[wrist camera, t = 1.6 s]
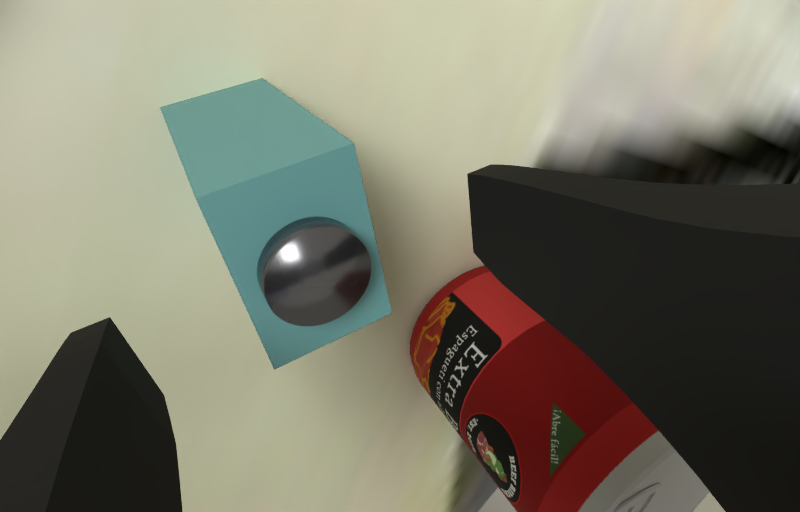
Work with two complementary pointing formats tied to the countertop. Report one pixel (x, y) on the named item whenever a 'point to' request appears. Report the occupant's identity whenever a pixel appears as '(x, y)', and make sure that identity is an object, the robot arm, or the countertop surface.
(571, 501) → the canned food
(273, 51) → the countertop surface
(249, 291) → the post
